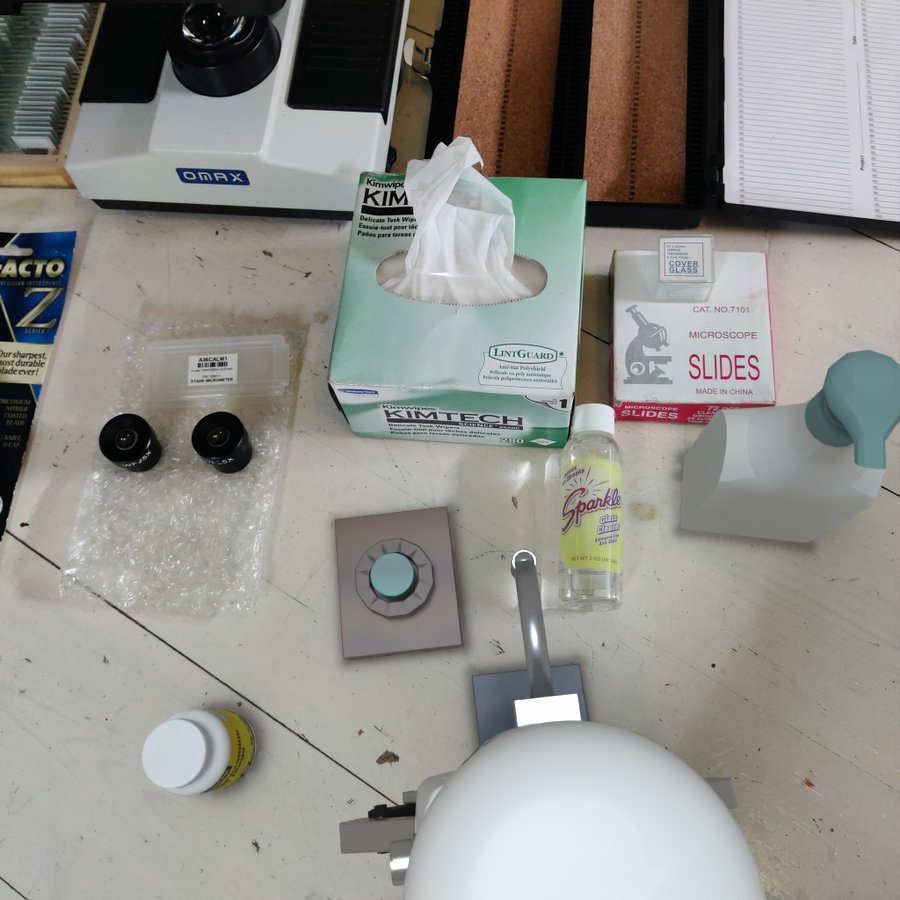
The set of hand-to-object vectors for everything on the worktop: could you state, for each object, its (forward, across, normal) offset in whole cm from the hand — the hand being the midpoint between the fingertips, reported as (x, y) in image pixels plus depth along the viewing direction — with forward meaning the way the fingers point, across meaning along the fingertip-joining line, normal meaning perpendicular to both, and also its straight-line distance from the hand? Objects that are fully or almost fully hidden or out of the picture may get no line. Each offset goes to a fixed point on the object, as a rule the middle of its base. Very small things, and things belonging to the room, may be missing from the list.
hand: (529, 800), depth 43 cm
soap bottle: (+24, +23, +20) cm, 39 cm away
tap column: (+24, +2, +4) cm, 25 cm away
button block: (+24, -8, +17) cm, 31 cm away
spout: (+7, +2, +8) cm, 10 cm away
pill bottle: (+25, -24, +5) cm, 35 cm away
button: (+21, -8, +17) cm, 28 cm away
